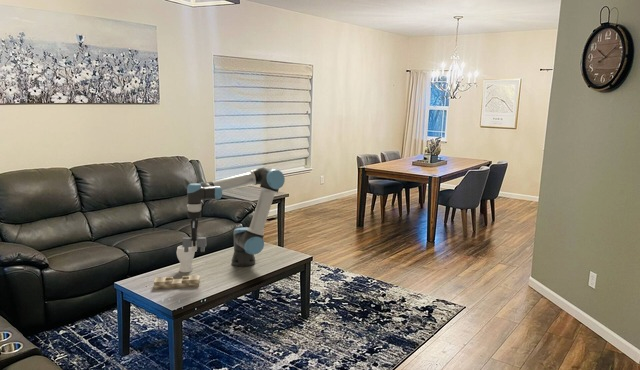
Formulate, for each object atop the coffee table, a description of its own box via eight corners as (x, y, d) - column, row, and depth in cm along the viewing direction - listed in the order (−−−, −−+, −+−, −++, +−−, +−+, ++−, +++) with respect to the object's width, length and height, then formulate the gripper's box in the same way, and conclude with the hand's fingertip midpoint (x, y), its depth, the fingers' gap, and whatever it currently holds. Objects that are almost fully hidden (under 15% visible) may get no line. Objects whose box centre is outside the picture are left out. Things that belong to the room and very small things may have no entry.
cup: (190, 274, 278) (189, 250, 275) (174, 272, 280) (173, 248, 277) (198, 268, 288) (197, 244, 285) (182, 266, 290) (181, 243, 287)
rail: (199, 281, 266) (199, 275, 265) (199, 286, 259) (198, 279, 258) (156, 284, 261) (155, 277, 260) (154, 289, 254) (153, 282, 254)
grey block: (206, 250, 269) (206, 237, 268) (206, 251, 266) (205, 238, 265) (183, 250, 266) (182, 237, 265) (182, 252, 264) (182, 238, 263)
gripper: (188, 207, 269) (189, 246, 273) (186, 213, 254) (186, 254, 258) (201, 207, 271) (202, 246, 274) (200, 213, 256) (200, 254, 259)
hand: (194, 250), depth 266 cm, fingers closed on grey block, 3 cm apart
